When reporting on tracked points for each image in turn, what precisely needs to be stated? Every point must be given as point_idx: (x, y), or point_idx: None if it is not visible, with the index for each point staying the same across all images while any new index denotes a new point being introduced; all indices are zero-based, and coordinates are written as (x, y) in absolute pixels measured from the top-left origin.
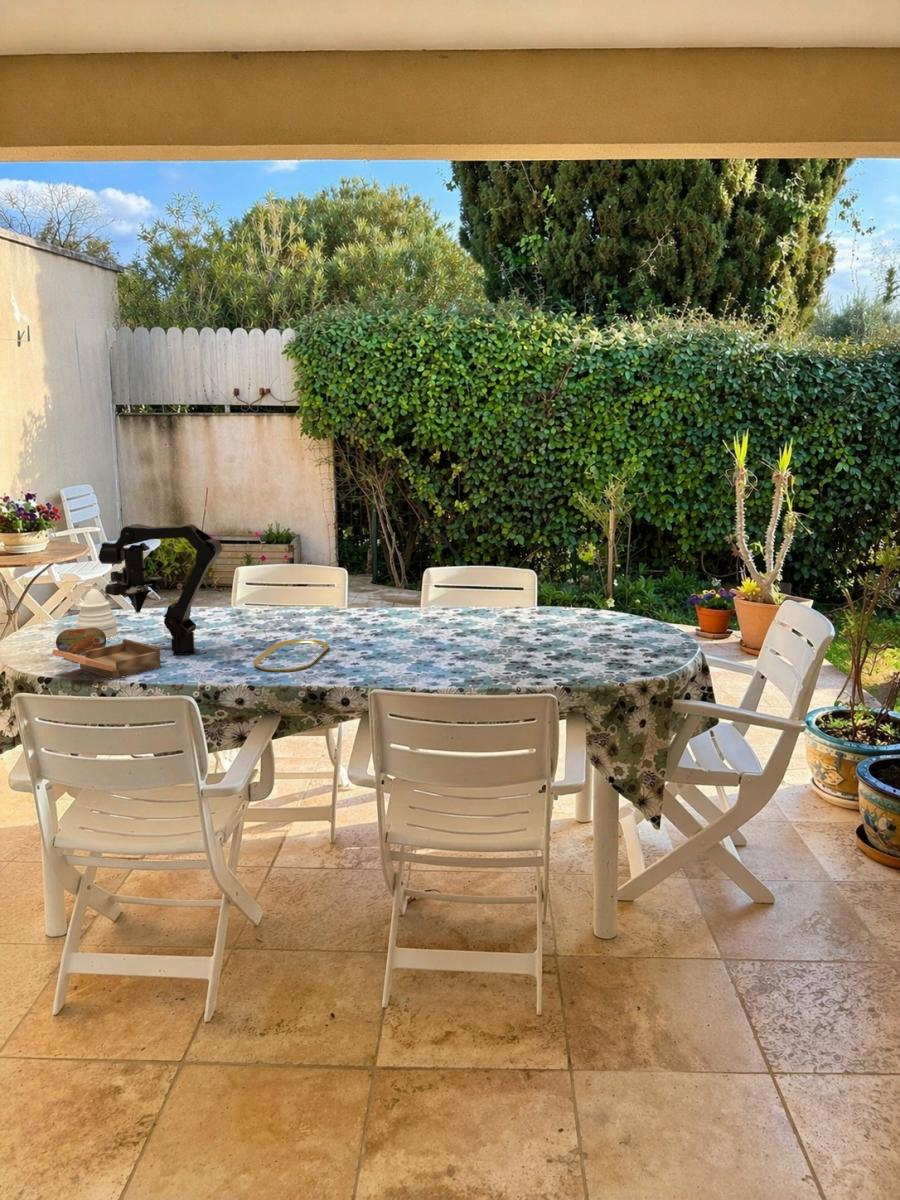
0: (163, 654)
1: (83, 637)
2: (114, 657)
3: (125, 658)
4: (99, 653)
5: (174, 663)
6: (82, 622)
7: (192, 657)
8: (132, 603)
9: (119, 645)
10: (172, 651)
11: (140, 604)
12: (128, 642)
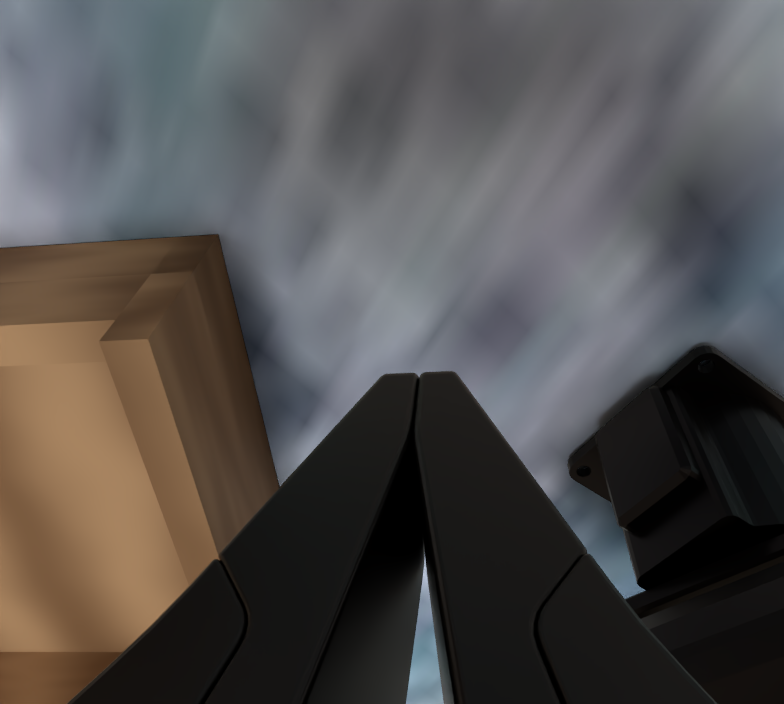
0: (527, 381)
1: None
2: (7, 428)
3: (87, 509)
4: None
5: (430, 608)
6: None
7: (618, 585)
8: (245, 558)
9: (63, 356)
10: (596, 436)
11: (443, 693)
12: (143, 438)
